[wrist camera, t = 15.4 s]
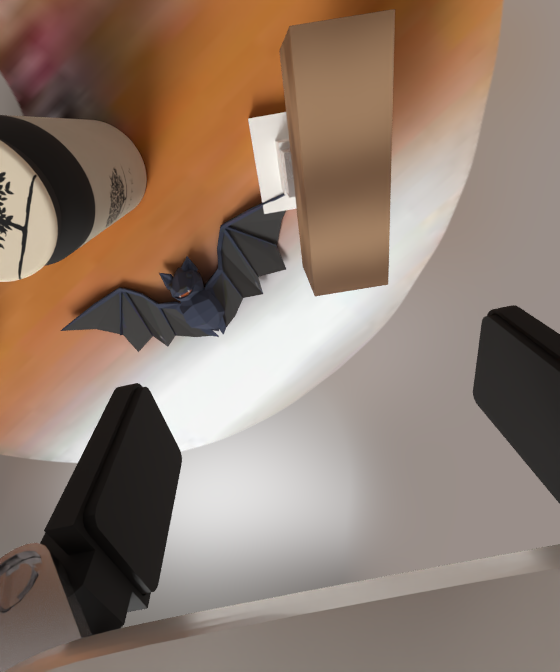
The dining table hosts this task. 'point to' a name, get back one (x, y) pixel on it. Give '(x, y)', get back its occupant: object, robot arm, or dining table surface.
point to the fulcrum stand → (273, 161)
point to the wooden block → (341, 146)
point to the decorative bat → (196, 287)
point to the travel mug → (61, 188)
